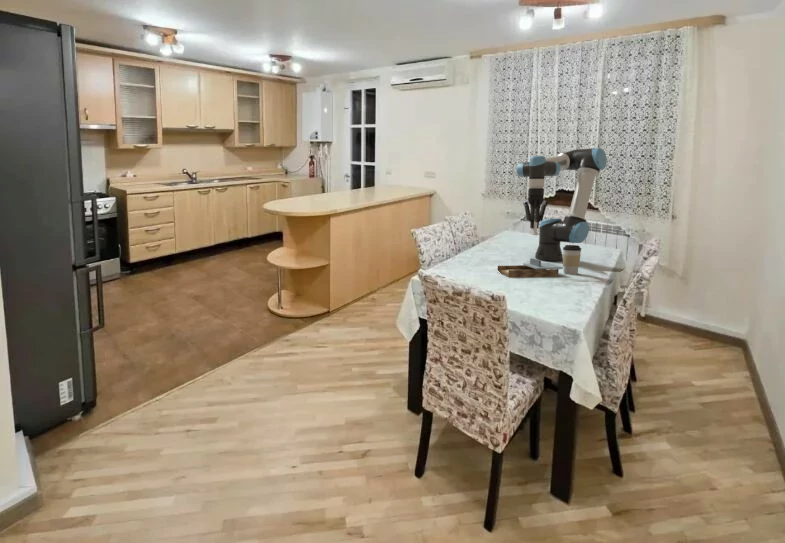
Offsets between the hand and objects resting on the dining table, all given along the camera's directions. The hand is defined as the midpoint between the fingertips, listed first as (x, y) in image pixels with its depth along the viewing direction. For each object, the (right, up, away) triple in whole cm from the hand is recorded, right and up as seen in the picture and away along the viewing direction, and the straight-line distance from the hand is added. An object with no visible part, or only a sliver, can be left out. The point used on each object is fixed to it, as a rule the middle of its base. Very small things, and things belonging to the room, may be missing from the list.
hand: (533, 234), depth 243 cm
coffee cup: (+21, -20, +6) cm, 30 cm away
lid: (+5, -16, +3) cm, 17 cm away
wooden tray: (-3, -20, +3) cm, 20 cm away
